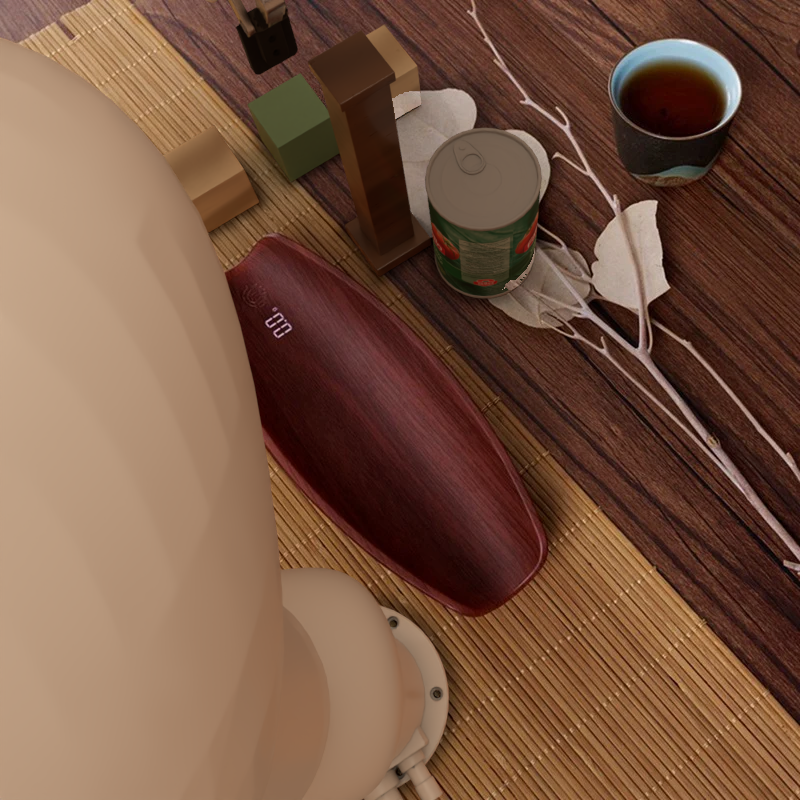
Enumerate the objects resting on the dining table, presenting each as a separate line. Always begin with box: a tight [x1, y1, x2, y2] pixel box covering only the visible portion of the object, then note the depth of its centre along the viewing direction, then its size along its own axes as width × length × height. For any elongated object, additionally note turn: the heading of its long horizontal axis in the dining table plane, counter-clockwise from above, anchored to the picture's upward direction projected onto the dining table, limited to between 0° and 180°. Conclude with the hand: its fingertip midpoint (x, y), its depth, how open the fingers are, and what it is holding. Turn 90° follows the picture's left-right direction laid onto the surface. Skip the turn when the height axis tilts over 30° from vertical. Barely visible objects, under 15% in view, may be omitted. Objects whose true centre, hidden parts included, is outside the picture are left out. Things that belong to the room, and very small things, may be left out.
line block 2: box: [365, 24, 421, 98], centre depth 76 cm, size 5×5×5 cm
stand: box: [307, 30, 432, 278], centre depth 64 cm, size 5×5×21 cm
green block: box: [246, 73, 340, 183], centre depth 75 cm, size 5×5×5 cm
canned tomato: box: [424, 127, 543, 300], centre depth 67 cm, size 8×8×11 cm
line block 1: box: [162, 124, 260, 234], centre depth 74 cm, size 5×5×5 cm
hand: (239, 12), depth 61 cm, fingers open, 9 cm apart
